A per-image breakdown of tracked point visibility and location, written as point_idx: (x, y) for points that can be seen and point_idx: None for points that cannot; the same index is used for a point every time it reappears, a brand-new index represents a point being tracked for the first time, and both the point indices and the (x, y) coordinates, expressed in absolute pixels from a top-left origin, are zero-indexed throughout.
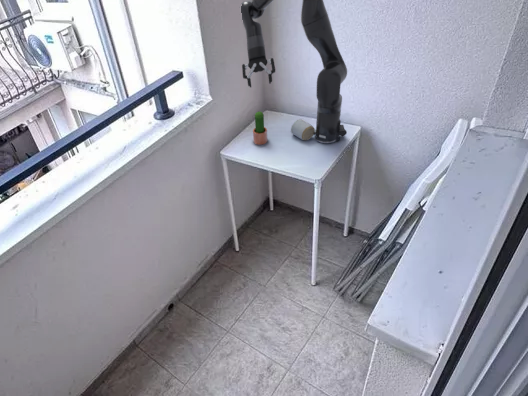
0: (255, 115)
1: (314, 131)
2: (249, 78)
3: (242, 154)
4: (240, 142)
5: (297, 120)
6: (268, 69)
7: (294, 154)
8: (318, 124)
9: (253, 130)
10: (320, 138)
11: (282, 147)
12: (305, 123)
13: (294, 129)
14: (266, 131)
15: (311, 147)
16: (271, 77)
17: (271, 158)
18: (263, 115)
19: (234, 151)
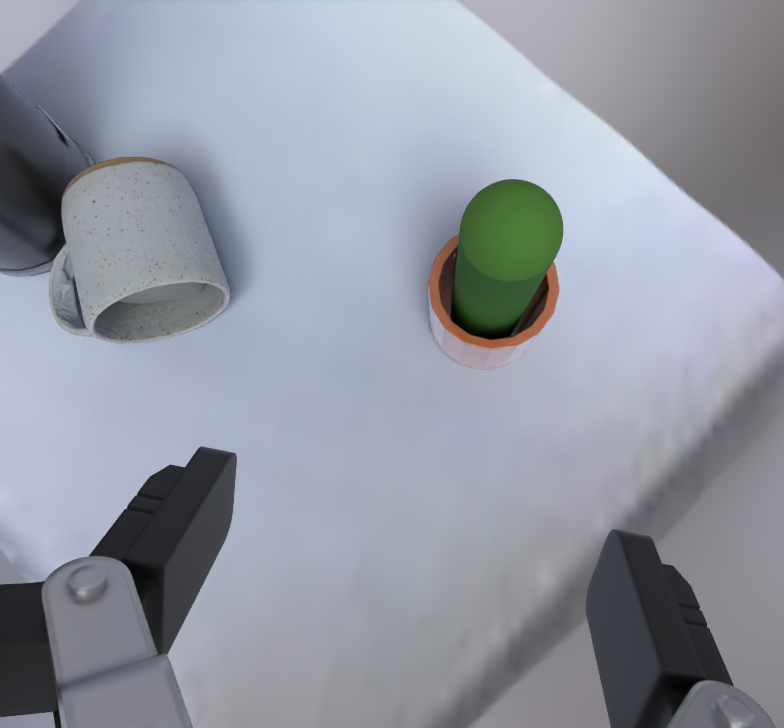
0: (560, 214)
1: (67, 287)
2: (687, 671)
3: (652, 197)
4: (641, 370)
5: (139, 278)
6: (65, 672)
7: (299, 87)
8: (17, 112)
9: (552, 300)
10: (74, 146)
11: (347, 192)
12: (97, 217)
13: (204, 243)
14: (440, 252)
15: (167, 130)
16: (128, 519)
17: (458, 87)
18: (464, 212)
19: (709, 257)
